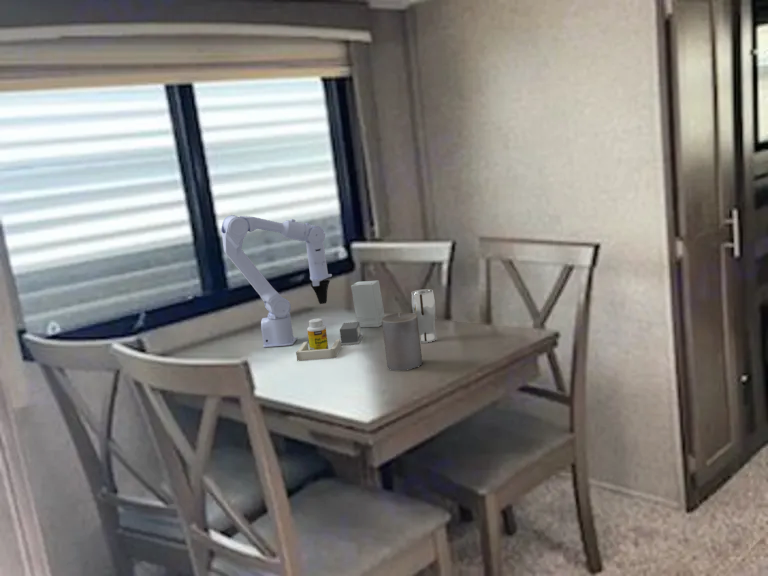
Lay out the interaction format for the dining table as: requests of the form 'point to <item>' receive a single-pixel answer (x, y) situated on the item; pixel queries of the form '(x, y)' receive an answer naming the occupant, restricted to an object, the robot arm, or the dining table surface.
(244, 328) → the dining table surface
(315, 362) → the dining table surface
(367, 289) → the skincare box
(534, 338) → the dining table surface
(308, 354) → the tray
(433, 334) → the beer glass
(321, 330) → the supplement bottle
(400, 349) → the pillar candle
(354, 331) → the box
